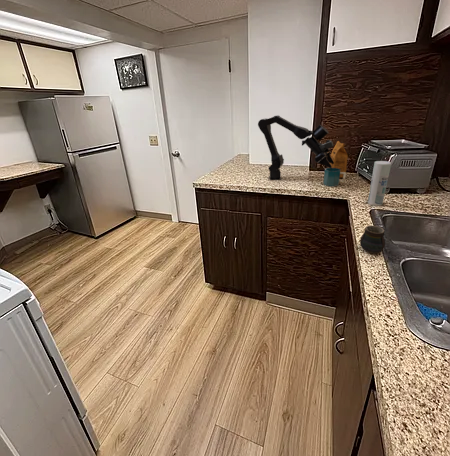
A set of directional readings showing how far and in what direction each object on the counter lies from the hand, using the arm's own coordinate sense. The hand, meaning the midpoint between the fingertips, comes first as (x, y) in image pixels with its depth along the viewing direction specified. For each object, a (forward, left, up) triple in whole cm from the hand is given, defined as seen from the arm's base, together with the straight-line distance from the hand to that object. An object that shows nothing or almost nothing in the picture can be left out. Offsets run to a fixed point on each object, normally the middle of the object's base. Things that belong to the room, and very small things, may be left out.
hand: (332, 165), depth 144 cm
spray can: (+9, -32, -12) cm, 35 cm away
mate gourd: (-14, -70, -12) cm, 73 cm away
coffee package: (+10, +15, -12) cm, 22 cm away
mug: (-3, +2, -7) cm, 8 cm away
